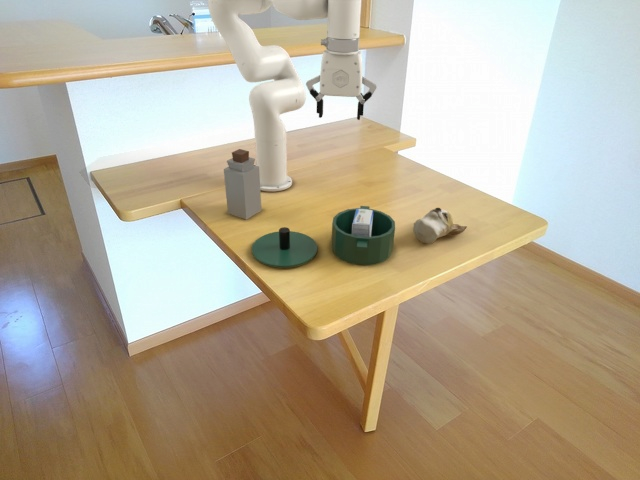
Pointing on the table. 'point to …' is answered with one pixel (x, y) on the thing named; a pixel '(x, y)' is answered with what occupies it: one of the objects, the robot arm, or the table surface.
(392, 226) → the pot
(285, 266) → the lid
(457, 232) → the ceramic sculpture
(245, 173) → the perfume bottle
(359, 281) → the table surface
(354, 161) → the table surface
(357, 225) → the medicine box
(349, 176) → the table surface
